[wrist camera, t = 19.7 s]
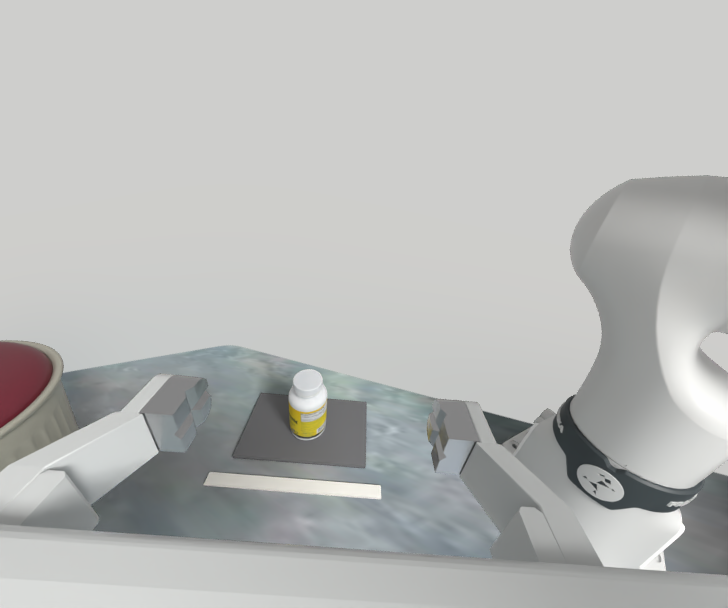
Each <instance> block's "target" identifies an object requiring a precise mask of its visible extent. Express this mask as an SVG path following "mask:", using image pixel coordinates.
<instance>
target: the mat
mask: <svg viewBox="0 0 728 608" xmlns="http://www.w3.org/2000/svg"><path fill="white" fill-rule="evenodd" d="M288 397H289V395H280V394H269V393H261V394H260V396H259V399H258V401H257V403H256V405H255V407H254V410H253V412H252V414H251V416H250V419H249V421H248V423H247V425H246V427H245V430H244V432H243V434H242V436H241V438H240V441H239V443H238V445H237V447H236V450H235V452H234V454H233V458H244V459H256V460H268V461H281V462H293V463H305V464H318V465H330V466H343V467H355V468H365V466H366V402H359V401H347V400H336V399H327V412H326V426H325V429H324V431H323V433H322V434H321V435H320V436H319V437H317V438H315V439H312V440H300V439H298V438H296V437H295V436H294V435H293V434H292V432H291V429H290V417H289V400H288Z"/></svg>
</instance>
